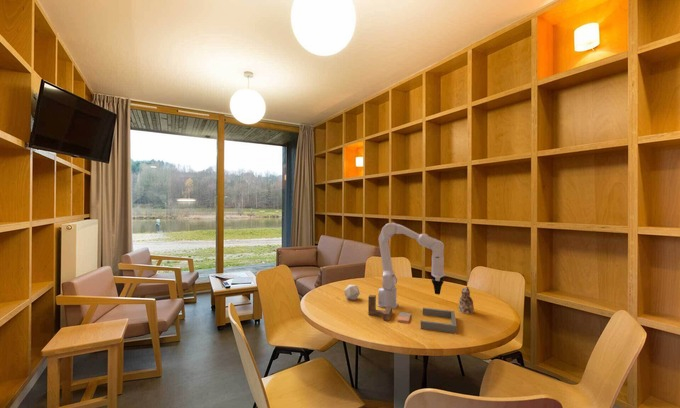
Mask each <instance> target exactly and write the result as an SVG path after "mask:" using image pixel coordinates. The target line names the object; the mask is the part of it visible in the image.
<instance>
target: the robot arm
mask: <svg viewBox="0 0 680 408" xmlns="http://www.w3.org/2000/svg"><path fill="white" fill-rule="evenodd" d="M395 234H396V235H401V234H403V235H405V236H407V237H410V238H411V239H414V240H416V242H417V243H418V244H419V245H421V247H424V248H427V250H428V249H429V250H431V251H432V253H431V254H432V255H431V272H430V273H431V278H432V279H431V283H432V285H433V290H434V294H435V295H440V294H441V291H442V290H441V289H442V286H443V283H444V280H443V279H444V277H447V273H445V272H444V271H445V270H444V267H445V264H444V263H445V258H444V257H445V256H444V254H445V253H444V250H445V244H444V243H443V242H442V241H441V240H439V239H437V238H434V237H431V236H429V235H428V234H427V233H420V234H419V233H417V232H415V231H414V230H412V229H410V228H408V227H407V226H404V225H402V224H399V223H396V222H388V223H386V224H385V225H384V226H383V227H381V232H380V234H379V236H378V244H379V245H378V246H379V252H380V258H381V263H382V264H381V265H382V271H383V272H382V281H381V285H382V287H379V288H378V292H377V293H378V294H377V295H378V296H377V297H378V298H377V299H378V302H377V303H378V305H377V306H378V307H380V308H387V306H390V307H392V309H396V308H397V307H398V304H399V303H398V302H397V287H396V285H397V284H398V278H397V277H396V275H395V271H394V269H393V263H392V262H393V261H392V257H391V250H390V243H389V240H390V239H391V238H392V237H393V236H395Z"/></svg>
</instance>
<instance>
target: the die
mask: <svg viewBox="0 0 680 408" xmlns="http://www.w3.org/2000/svg"><path fill="white" fill-rule="evenodd" d="M343 292H344V295H345V298H346V300H350V301H351V300H352V301H357V299H358V298H359V296H360V294H361V293H360V289H359V287H358V285H357V284H347V286H346V287H345V289H344V290H343Z"/></svg>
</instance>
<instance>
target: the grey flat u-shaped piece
mask: <svg viewBox="0 0 680 408" xmlns="http://www.w3.org/2000/svg"><path fill="white" fill-rule="evenodd" d="M423 315H424V316H431V317H440V318H446V319H447V318H448V319H450V320H451V321H450V322H451V323H445V322H436V321H429V320H420V329H421V330H427V331H436V332H444V333H451V334H457V330H458V327H457V320H456V313H455V311H454V310H448V309H438V308H430V307H422V316H423Z"/></svg>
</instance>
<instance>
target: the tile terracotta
mask: <svg viewBox="0 0 680 408" xmlns="http://www.w3.org/2000/svg"><path fill="white" fill-rule="evenodd" d="M410 319H411V316H410V317H406V316H399V315H398V317H397V322H398V323H403V324H405V323H406V324H409V323H410Z"/></svg>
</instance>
